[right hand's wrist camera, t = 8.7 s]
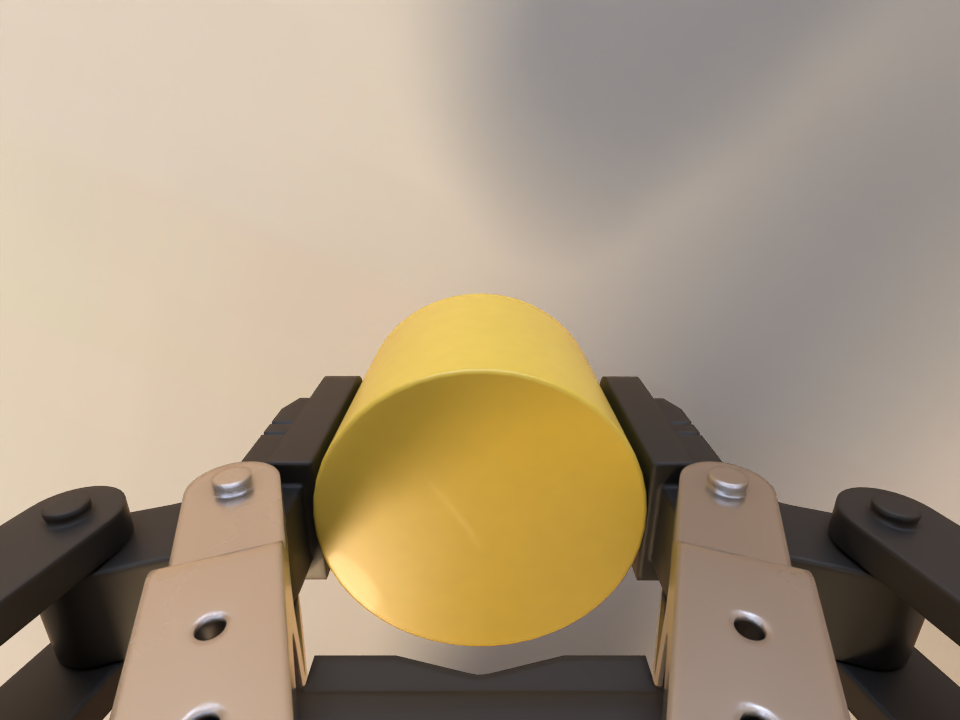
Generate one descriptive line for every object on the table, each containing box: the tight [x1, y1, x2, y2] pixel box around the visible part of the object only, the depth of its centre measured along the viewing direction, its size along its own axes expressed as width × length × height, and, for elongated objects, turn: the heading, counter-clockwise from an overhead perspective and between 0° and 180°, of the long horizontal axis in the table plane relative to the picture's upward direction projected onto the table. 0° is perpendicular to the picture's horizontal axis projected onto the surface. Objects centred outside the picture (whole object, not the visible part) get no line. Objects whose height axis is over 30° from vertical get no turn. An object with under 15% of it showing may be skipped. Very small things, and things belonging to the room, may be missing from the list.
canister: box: [313, 294, 647, 646], centre depth 10 cm, size 5×5×4 cm
